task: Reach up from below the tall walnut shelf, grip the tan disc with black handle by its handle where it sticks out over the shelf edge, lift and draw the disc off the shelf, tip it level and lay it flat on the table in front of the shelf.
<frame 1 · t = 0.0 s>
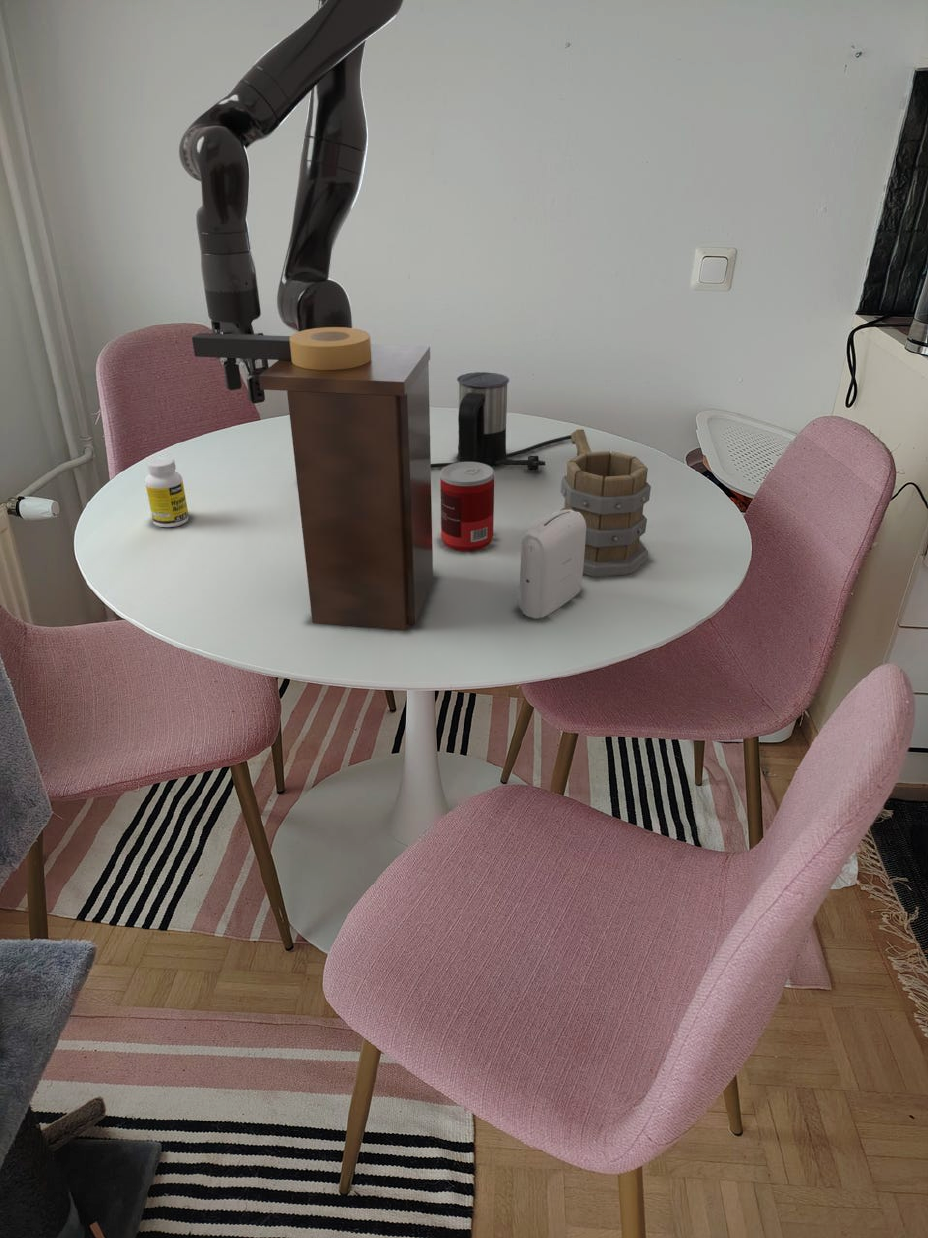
hand: (245, 395, 132), 17 cm above the table, tool pointing down, fingers open, 8 cm apart
milk frother: (500, 465, 153), on the table
shelf: (365, 596, 113), on the table
tankard: (591, 545, 126), on the table
disc with black handle: (331, 359, 97), point 31 cm above the table, touching shelf
canned food: (467, 541, 127), on the table
photo printer: (550, 603, 112), on the table
supplement bottle: (171, 522, 133), on the table
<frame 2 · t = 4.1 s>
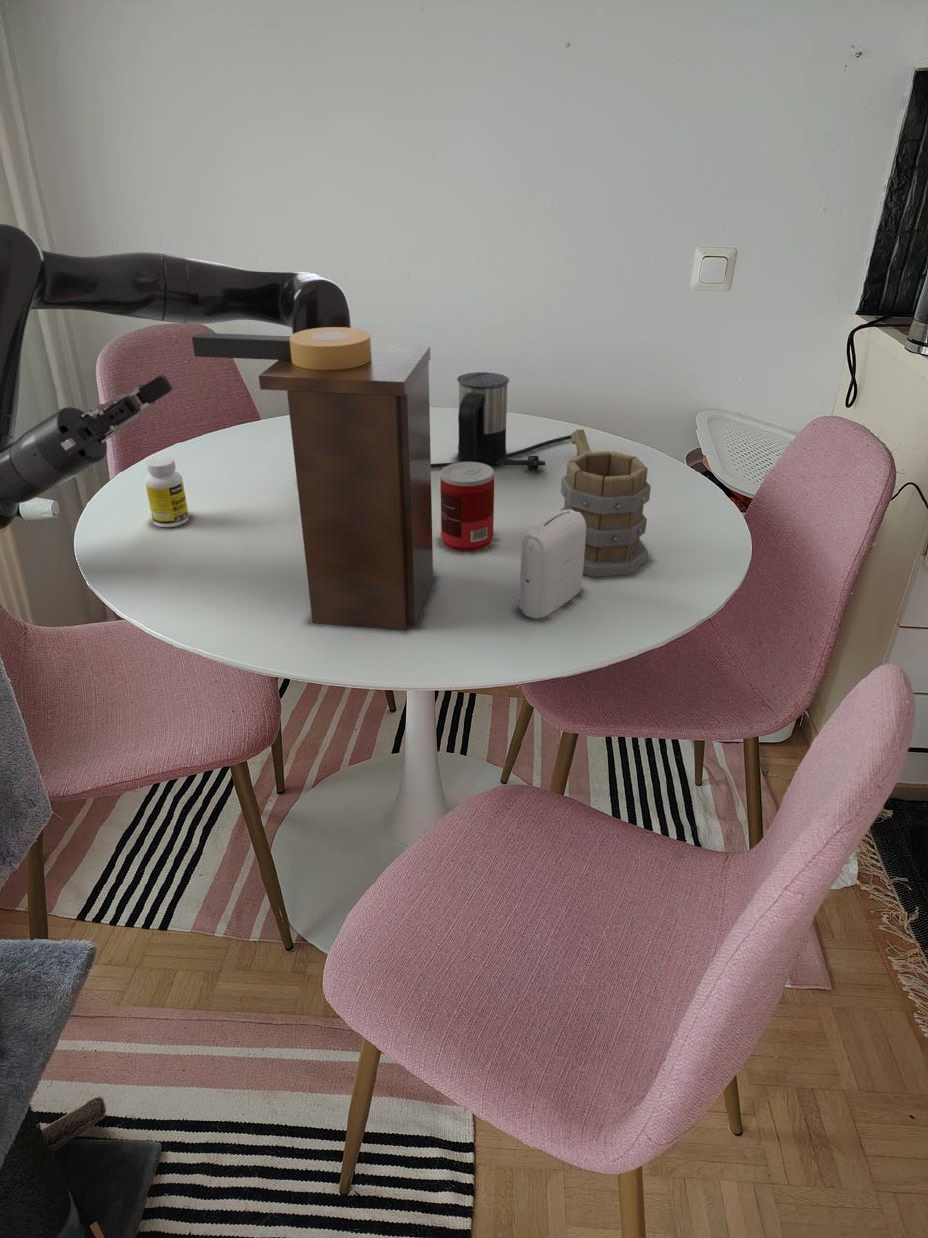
hand: (151, 391, 103), 26 cm above the table, tool pointing upward, fingers open, 8 cm apart
nothing on the table moved.
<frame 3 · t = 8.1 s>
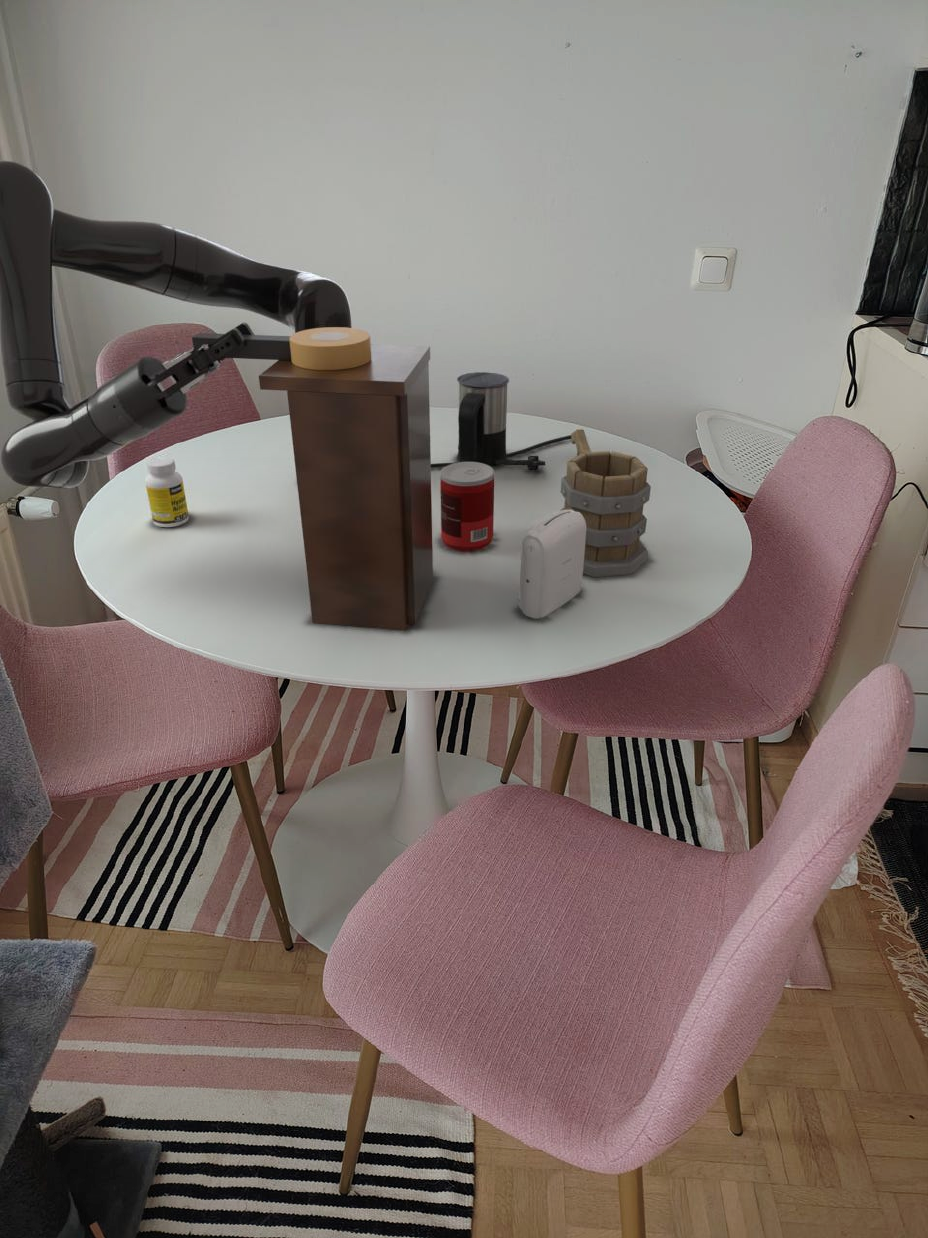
hand: (245, 333, 97), 34 cm above the table, tool pointing upward, fingers closed on disc with black handle, 2 cm apart
disc with black handle: (331, 359, 97), point 31 cm above the table, touching gripper, shelf
everything else where it was.
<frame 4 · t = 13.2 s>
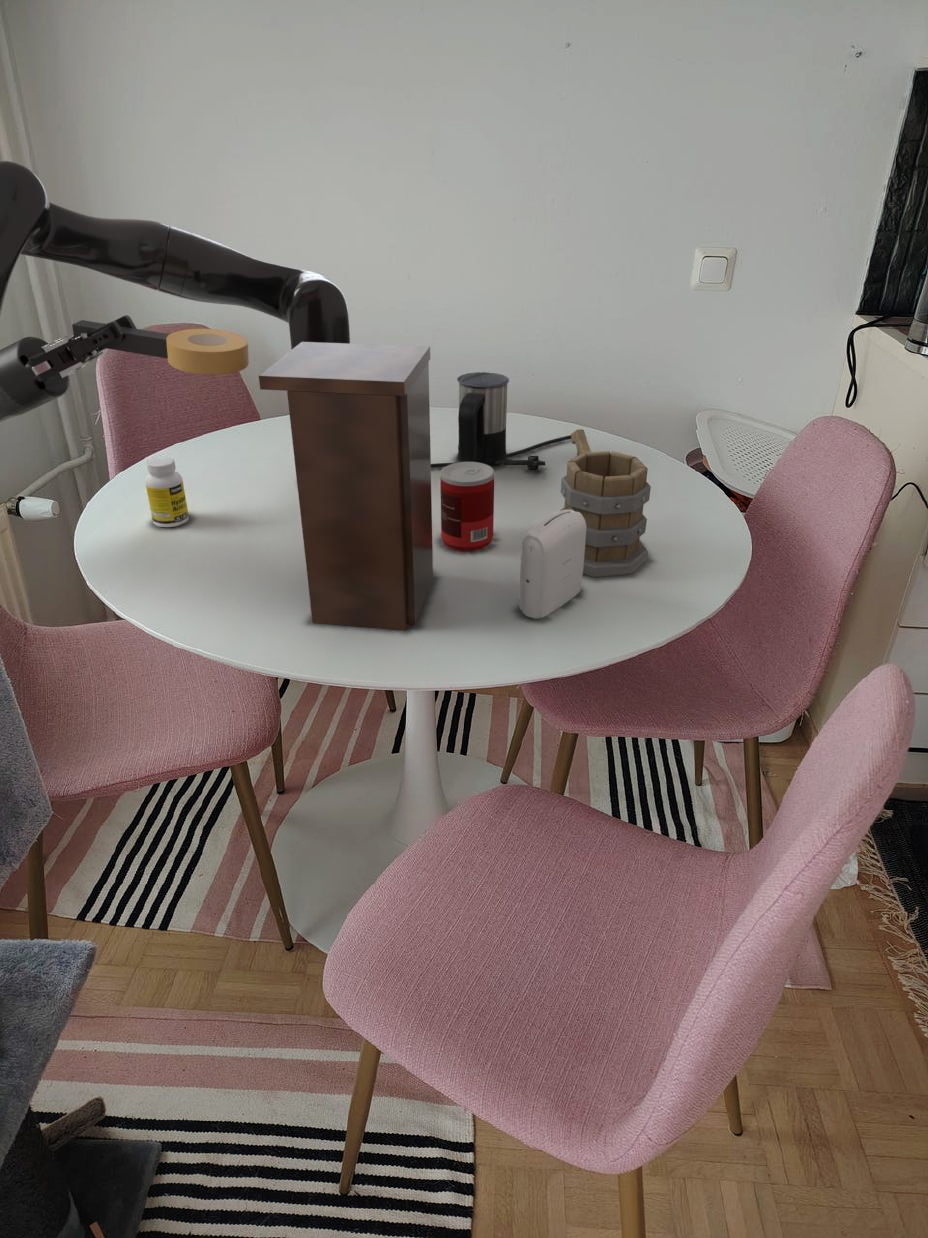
hand: (125, 326, 99), 34 cm above the table, tool pointing upward, fingers closed on disc with black handle, 2 cm apart
disc with black handle: (208, 362, 99), point 30 cm above the table, tilted 6°, touching gripper
everything else where it was.
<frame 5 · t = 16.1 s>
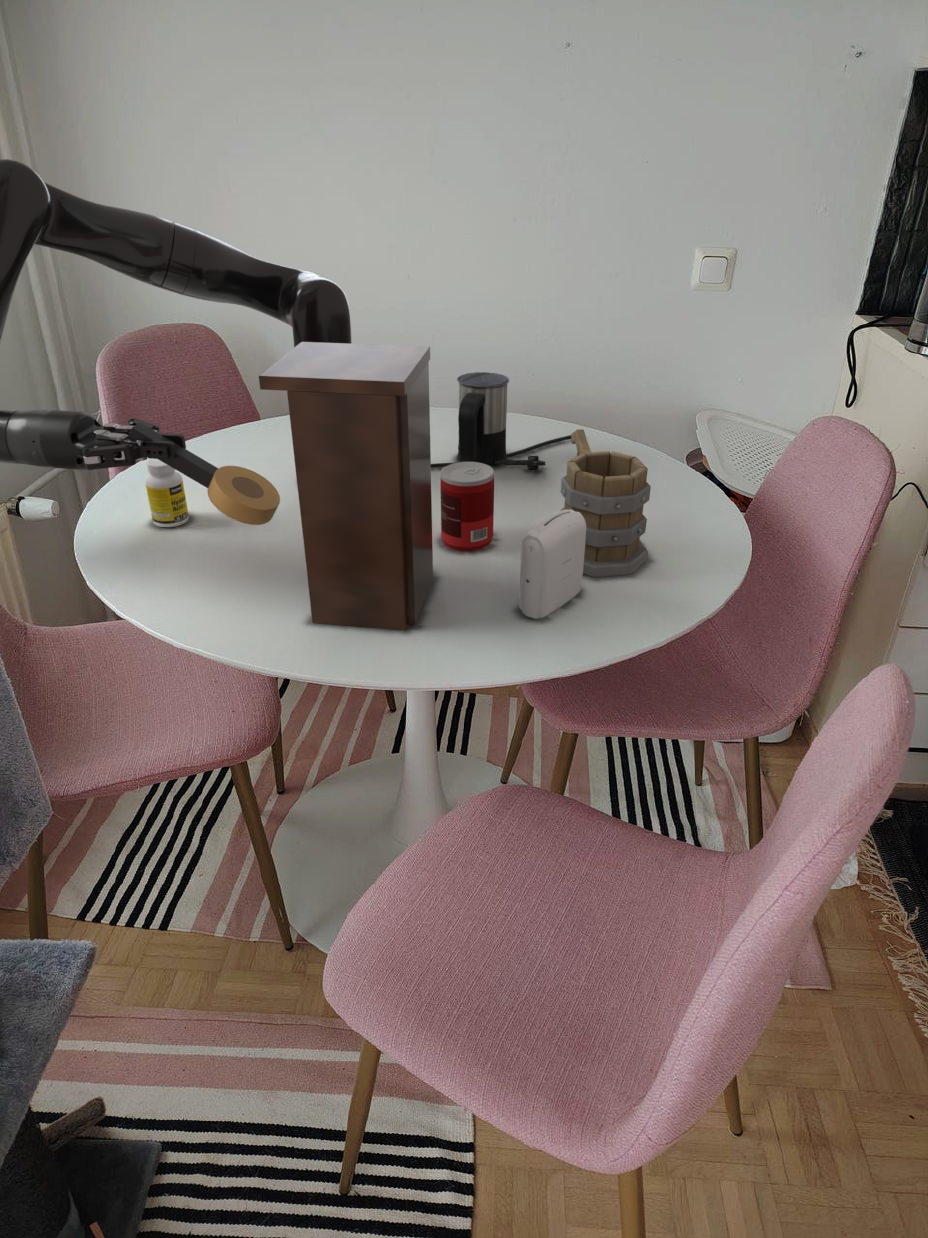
hand: (179, 446, 110), 18 cm above the table, tool horizontal, fingers closed on disc with black handle, 2 cm apart
disc with black handle: (240, 502, 113), point 11 cm above the table, tilted 30°, touching gripper
everything else where it was.
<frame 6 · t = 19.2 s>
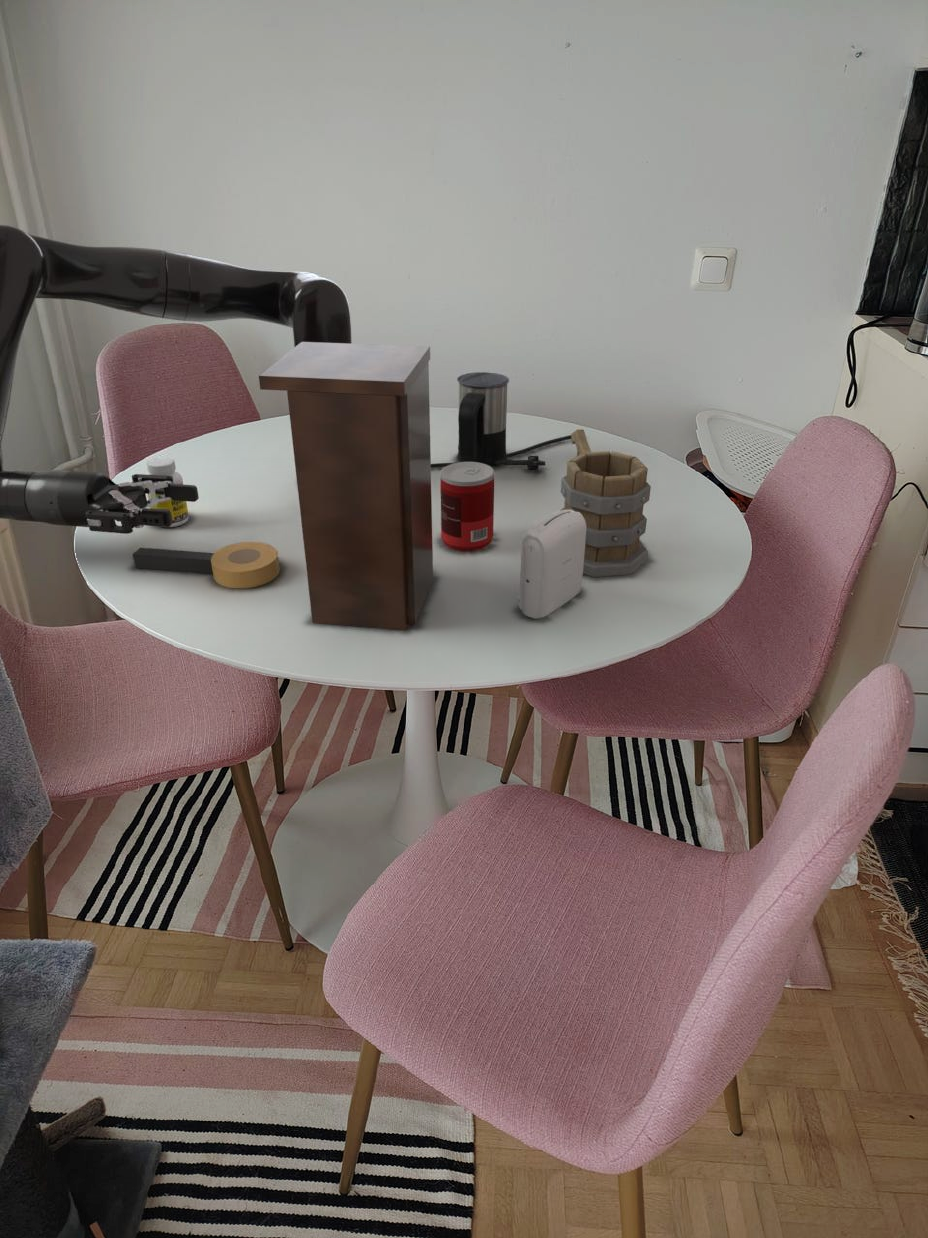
hand: (184, 505, 115), 10 cm above the table, tool horizontal, fingers open, 7 cm apart
disc with black handle: (246, 572, 119), on the table
everything else where it was.
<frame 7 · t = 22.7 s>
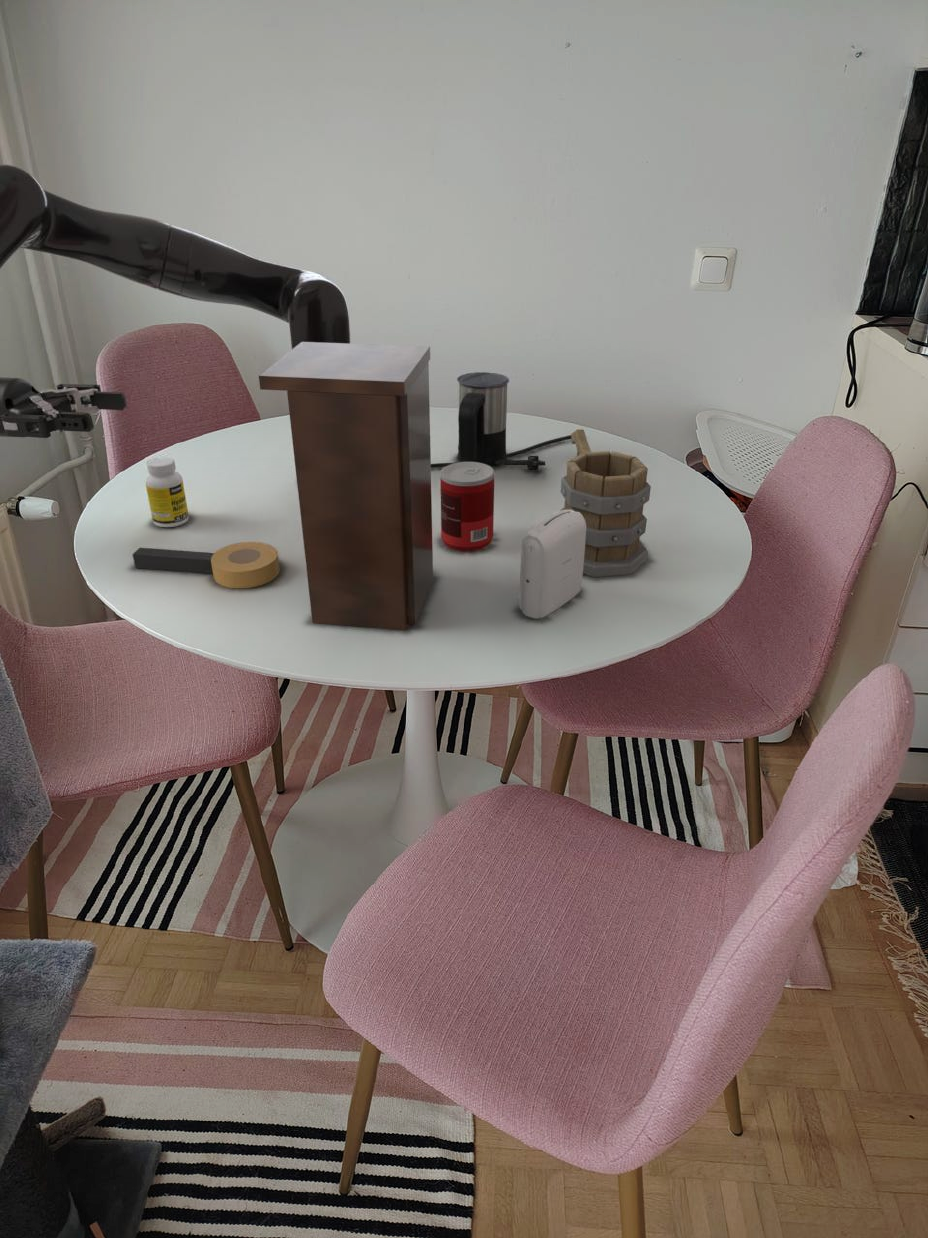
hand: (108, 411, 109), 22 cm above the table, tool horizontal, fingers open, 8 cm apart
nothing on the table moved.
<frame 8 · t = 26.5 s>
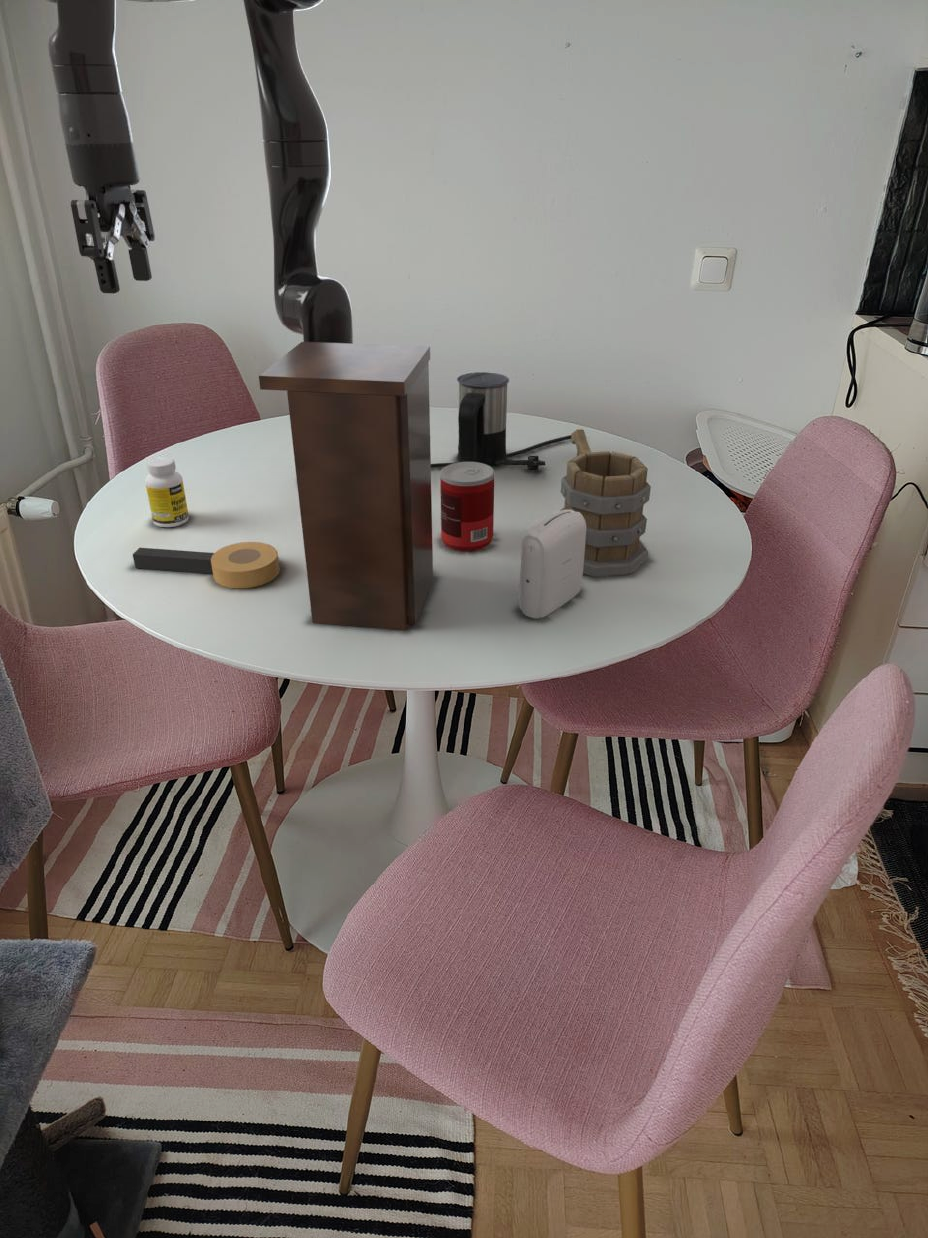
hand: (127, 286, 108), 36 cm above the table, tool pointing down, fingers open, 8 cm apart
nothing on the table moved.
at the end: disc with black handle inside the target area (0.7 cm from its centre), on the table; disc with black handle tilted 0°; the gripper is holding nothing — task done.
